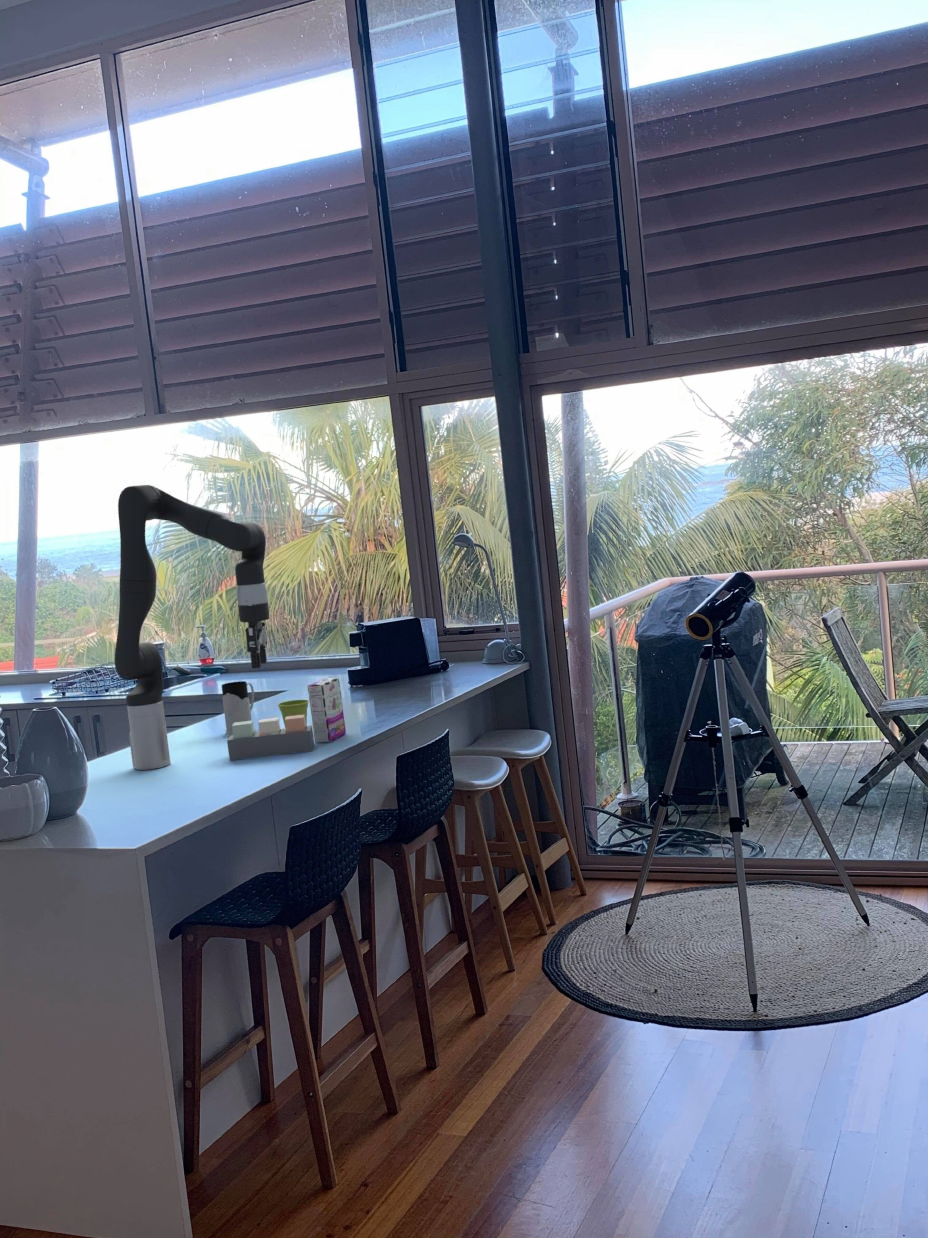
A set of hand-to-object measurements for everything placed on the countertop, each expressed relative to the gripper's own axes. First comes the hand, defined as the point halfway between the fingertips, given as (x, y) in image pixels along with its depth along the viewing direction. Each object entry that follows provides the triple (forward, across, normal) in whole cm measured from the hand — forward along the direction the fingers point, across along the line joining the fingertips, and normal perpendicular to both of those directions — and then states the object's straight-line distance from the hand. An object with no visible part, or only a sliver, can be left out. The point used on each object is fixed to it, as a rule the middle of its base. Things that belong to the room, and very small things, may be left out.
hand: (259, 665), depth 289 cm
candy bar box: (+26, -28, +12) cm, 40 cm away
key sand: (+22, -16, -2) cm, 27 cm away
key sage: (+22, -16, -9) cm, 29 cm away
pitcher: (+27, -58, -18) cm, 66 cm away
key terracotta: (+22, -17, +5) cm, 28 cm away
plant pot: (+26, -47, 0) cm, 54 cm away
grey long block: (+26, -16, -2) cm, 30 cm away
